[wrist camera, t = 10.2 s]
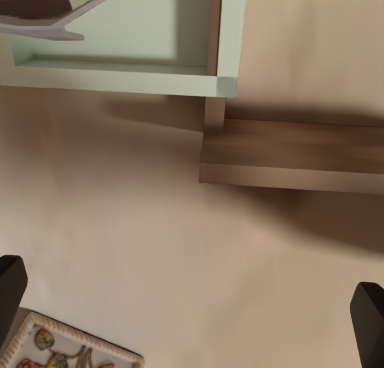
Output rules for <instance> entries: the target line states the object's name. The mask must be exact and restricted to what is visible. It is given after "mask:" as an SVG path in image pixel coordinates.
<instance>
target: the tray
mask: <svg viewBox="0 0 384 368" xmlns="http://www.w3.org/2000/svg"><path fill="white" fill-rule="evenodd" d="M210 6H211V0H105V1H104V2H102V3H101V4H99V5H97V6H96V7H94V8H92V9H91V10H89V11H88V12H86V13H84V14H83V15H81V16H79V17H78V18H76V19H75V20H73V21H71V22H70V23H68V24H67V25H65V26H64V27H65V31H69V32H73V33H77V34H81V35H84V40H82V41H54V40H47V39H40V38H33V37H26V36H20V35H13V34H7V33H0V85H1V86H19V87H37V88H56V89H75V90H94V91H113V92H131V93H150V94H169V95H188V96H207V97H225V98H236V92H237V81H238V71H239V61H240V51H241V40H242V30H243V20H244V10H245V0H222V11H221V26H220V41H219V55H218V70H217V76H207V62H208V43H209V24H210Z"/></svg>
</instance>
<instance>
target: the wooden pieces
mask: <svg viewBox="0 0 384 368" xmlns="http://www.w3.org/2000/svg"><path fill="white" fill-rule="evenodd" d="M221 11H222V0H211V6H210V24H209V43H208V62H207V76H217V70H218V55H219V41H220V26H221ZM225 100H226V98H225V97H207V96H206V100H205V119H204V135H203V144H202V152H201V161H200V178H199V183H212V184H228V185H243V186H258V187H274V188H289V189H305V190H320V191H336V192H351V193H366V194H382V195H384V127H367V126H349V125H331V124H313V123H296V122H278V121H260V120H242V119H224V112H225Z"/></svg>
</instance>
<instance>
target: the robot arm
mask: <svg viewBox="0 0 384 368" xmlns="http://www.w3.org/2000/svg"><path fill="white" fill-rule="evenodd" d="M27 283H28V277H27V273H26V270H25V266H24V263H23V259H22V258H21V257H20V256H18V255H4V256H2V257H0V348H1V346H2V344H3V342H4V340H5V338H6V336H7V334H8V331H9V329H10V327H11V324H12V322H13V319H14V317H15V314H16V312H17V309H18V307H19V304H20V302H21V299H22V297H23V294H24V292H25V289H26V287H27ZM350 313H351V318H352V323H353V327H354V332H355V337H356V342H357V346H358V351H359V356H360V360H361V365H362V368H384V289H383V288H382V287H381V286H380V285H378V284H377V283H373V282H360V283H358V285H357V287H356V290H355V292H354V295H353V298H352V300H351V303H350Z"/></svg>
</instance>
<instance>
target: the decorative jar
mask: <svg viewBox="0 0 384 368" xmlns="http://www.w3.org/2000/svg"><path fill="white" fill-rule="evenodd" d="M144 364H145V360H144V358H143V357H141V356H139V355H137V354H134V353H132V352H129V351H126V350H124V349H122V348H119V347H117V346H115V345H112V344H110V343H107V342H105V341H103V340H100V339H98V338H95V337H93V336H90V335H88V334H86V333H83V332H81V331H79V330H76V329H74V328H71V327H69V326H67V325H64V324H62V323H60V322H57V321H55V320H53V319H50V318H48V317H45V316H43V315H41V314H38V313H35V312H31V313H29V314H28V316H27V317H26V318H25V320H24V321H23V323H22V325H21V326H20V328H19V330H18V332H17V333H16V335H15V336H14V338H13V340H12V341H11V343H10V344H9V346H8V348H7V349H6V351H5V353H4V354H3V356H2V358H1V359H0V368H144Z"/></svg>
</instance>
